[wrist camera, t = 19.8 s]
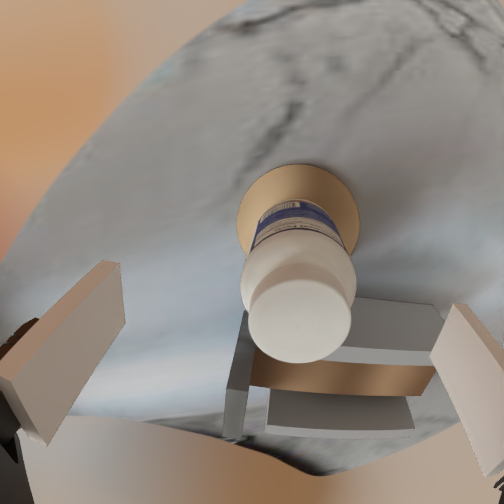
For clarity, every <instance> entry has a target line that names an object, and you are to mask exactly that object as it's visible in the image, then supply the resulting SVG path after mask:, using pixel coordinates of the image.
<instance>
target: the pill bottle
mask: <svg viewBox="0 0 504 504" xmlns="http://www.w3.org/2000/svg"><path fill="white" fill-rule="evenodd" d="M240 291H241V297H242V301H243V304H244V306H245V308H246V310H247V312H248V313H249V317H248V326H249V331H250V334H251V337H252V339H253V341H254V342H255V344H256V345H257V346H258V347H259V348H260V349H261V350H262V351H263V352H264V353H266V354H267V355H269V356H271V357H273V358H275V359H277V360H280V361H284V362H288V363H308V362H314V361H317V360H320V359H322V358H325V357H327V356H328V355H330V354H332V353H333V352H334V351H335V350H337V349H338V348H339V347H340V346H341V345H342V343H343V342H344V341H345V339H346V338H347V336H348V333H349V331H350V327H351V310H350V308H351V306H352V304H353V301H354V298H355V294H356V275H355V270H354V267H353V264H352V261H351V258H350V257H349V254H348V252H347V250H346V248H345V246H344V243H343V241H342V239H341V236H340V234H339V232H338V230H337V228H336V226H335V224H334V222H333V220H332V219H331V217H330V216H329V214H328V213H327V212H326V211H325V210H324V209H323V208H322V207H320V206H319V205H317V204H315V203H313V202H311V201H308V200H304V199H288V200H284V201H281V202H278V203H276V204H274V205H272V206H271V207H270V208H268V209H267V210H266V211H265V212H264V213H263V214H262V216H261V217H260V219H259V221H258V223H257V225H256V228H255V231H254V234H253V237H252V240H251V244H250V248H249V251H248V254H247V257H246V260H245V264H244V267H243V271H242V275H241V282H240Z"/></svg>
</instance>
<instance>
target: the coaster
mask: <svg viewBox="0 0 504 504" xmlns="http://www.w3.org/2000/svg"><path fill="white" fill-rule="evenodd" d="M288 199H304V200H308V201H311V202H313V203H315V204H317V205H319V206H320V207H322V208H323V209H324V210H325V211H326V212H327V213H328V214H329V216H330V217H331V219H332V220H333V222H334V224H335V226H336V228H337V230H338V232H339V234H340V236H341V239H342V241H343V243H344V246H345V248H346V250H347V252H348V254H349V256H350V255H351V253H352V252H353V250H354V247H355V245H356V243H357V239H358V235H359V229H360V220H359V213H358V209H357V205H356V203H355V201H354V198H353V197H352V195H351V193H350V192H349V190H348V189H347V188H346V187H345V185H344V184H343V183H342V182H341V181H340V180H339V179H338V178H336V177H335V176H334V175H332V174H331V173H329V172H327V171H325V170H323V169H321V168H318V167H315V166H310V165H303V164H292V165H286V166H281V167H278V168H275V169H273V170H271V171H269V172H267V173H265V174H264V175H262V176H261V177H260V178H259V179H257V180H256V181H255V182H254V183H253V184H252V186H251V187H250V188H249V189H248V191H247V192H246V194H245V196H244V197H243V200H242V202H241V204H240V207H239V210H238V215H237V235H238V239H239V242H240V245H241V247H242V250H243V251H244V253H245V255H246V256H247V254H248V251H249V248H250V244H251V240H252V237H253V234H254V231H255V228H256V225H257V223H258V221H259V219H260V217H261V216H262V214H263V213H264V212H265V211H266V210H267V209H268V208H270V207H271V206H272V205H274V204H276V203H278V202H281V201H284V200H288Z"/></svg>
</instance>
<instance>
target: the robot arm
mask: <svg viewBox="0 0 504 504" xmlns="http://www.w3.org/2000/svg"><path fill="white" fill-rule="evenodd" d="M125 323H126V322H125V314H124V305H123V295H122V285H121V273H120V263H117V262H111V261H104V260H102V261H101V262H100V263H99V264H98V265H97V266H95V267H94V268H93V269H92V270H91V271H90V272H89V273H88V274H87V275H85V276H84V277H83V278H82V279H81V280H80V281H79V282H78V283H77V284H76V285H75V286H74V287H72V288H71V289H70V290H69V291H68V292H67V293H66V294H65V295H64V296H63V297H62V298H61V299H60V300H59V301H58V302H57V303H56V304H55V305H54V306H53V307H52V308H51V309H49V310H48V311H47V312H46V313H45V314H44V315H43V316H42V317H41V318H40V319H38V318H34V319H32V320H30V321H28V322H27V323H25V324H23V325H22V326H21V327H20V328H19V329H18V330H17V331H16V332H15V333H14V335H13V336H11V337H10V338H9V339H8V340H7V341H6V344H5V343H4V344H3V345H2V346H1V347H0V504H34V501H33V497H32V493H31V490H30V486H29V482H28V478H27V474H26V470H25V465H24V461H23V456H22V451H21V446H20V440H19V437H18V435H17V433H16V431H17V430H18V429H20V428H22V429H23V430H24V431H25V433H26V435H27V436H28V437H29V438H31V439H33V440H35V441H37V442H39V443H41V444H43V445H45V446H48V445H49V443H50V442H51V440H52V438H53V436H54V435H55V433H56V431H57V429H58V428H59V426H60V425H61V423H62V421H63V420H64V418H65V416H66V415H67V413H68V411H69V410H70V408H71V406H72V405H73V403H74V401H75V400H76V398H77V397H78V395H79V393H80V392H81V390H82V389H83V387H84V385H85V384H86V382H87V381H88V379H89V378H90V376H91V374H92V373H93V371H94V370H95V368H96V367H97V365H98V364H99V362H100V361H101V359H102V358H103V356H104V354H105V353H106V351H107V350H108V348H109V347H110V345H111V344H112V342H113V341H114V339H115V338H116V336H117V335H118V334H119V332H120V331H121V329H122V328H123V326H124V325H125ZM429 357H430V359H431V361H432V363H433V365H434V367H435V368H436V370H437V372H438V374H439V376H440V378H441V380H442V382H443V384H444V386H445V388H446V390H447V392H448V395H449V397H450V399H451V401H452V403H453V405H454V407H455V409H456V411H457V414H458V416H459V418H460V420H461V422H462V425H463V427H464V429H465V431H466V434H467V436H468V438H469V441H470V443H471V446H472V448H473V450H474V453H475V455H476V458H477V460H478V463H479V465H480V468H481V470H482V473H483V476H484V478H486V477H488V476H492V475H495V474H498V473H500V472H501V471H502V470H503V469H504V351H503V349H502V348H501V347H500V345H499V344H498V343H497V341H496V340H495V339H494V338H493V336H492V335H491V334H490V332H489V331H488V330H487V329H486V327H485V326H484V325H483V324H482V322H481V321H480V320H479V319H478V318H477V316H476V315H475V314H474V313H473V312H472V310H471V309H470V308H469V307H468V306H467V304H456V303H453V304H452V307H451V309H450V312H449V314H448V316H447V319H446V321H445V323H444V326H443V328H442V330H441V332H440V335H439V337H438V339H437V341H436V343H435V345H434V347H433V350H432V352H431V354H430V356H429ZM502 482H504V476H503V477H502V478H501V479H500V480H499V481H498V482H496V484H495V485H494V488H497V487H498V486H499V485H500V484H501V483H502ZM499 490H500V491H502V494H501V497H500V500H499V504H504V485H502V486H501V487H500V488H499Z"/></svg>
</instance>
